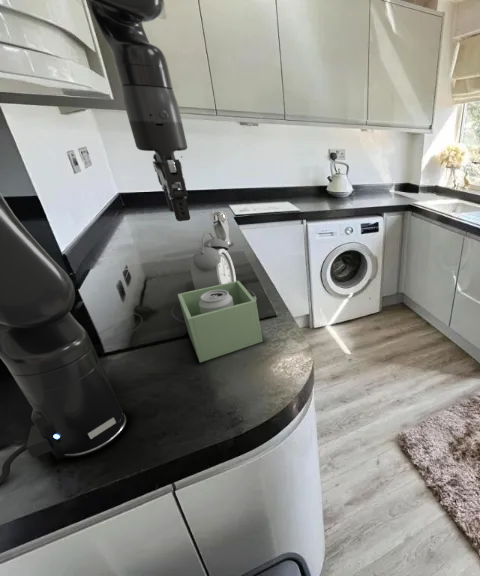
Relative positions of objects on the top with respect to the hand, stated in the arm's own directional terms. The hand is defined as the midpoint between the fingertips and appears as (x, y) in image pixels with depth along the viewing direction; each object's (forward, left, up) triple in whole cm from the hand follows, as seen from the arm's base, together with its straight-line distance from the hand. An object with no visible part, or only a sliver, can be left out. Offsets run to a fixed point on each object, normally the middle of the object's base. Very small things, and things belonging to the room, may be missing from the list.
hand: (179, 215), depth 61 cm
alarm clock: (+8, +30, -34) cm, 46 cm away
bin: (+4, +8, -34) cm, 35 cm away
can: (+4, +8, -34) cm, 35 cm away
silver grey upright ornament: (+22, +86, -34) cm, 95 cm away
